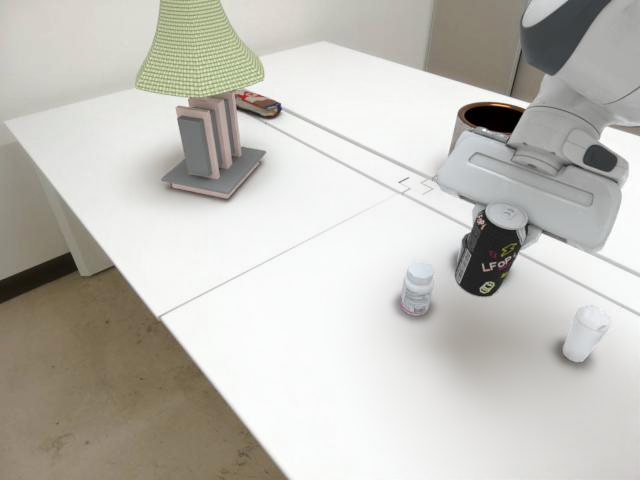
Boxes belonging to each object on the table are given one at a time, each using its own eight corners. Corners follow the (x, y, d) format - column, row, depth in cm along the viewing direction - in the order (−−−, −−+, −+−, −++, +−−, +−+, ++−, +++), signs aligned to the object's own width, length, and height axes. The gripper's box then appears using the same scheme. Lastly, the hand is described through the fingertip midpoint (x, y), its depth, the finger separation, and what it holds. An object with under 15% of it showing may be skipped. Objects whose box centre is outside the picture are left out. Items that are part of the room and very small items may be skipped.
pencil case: (251, 96, 147) (250, 80, 144) (287, 115, 136) (286, 99, 133) (221, 104, 142) (219, 88, 139) (256, 125, 130) (254, 109, 127)
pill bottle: (406, 291, 79) (412, 255, 74) (432, 302, 77) (441, 265, 72) (395, 309, 76) (401, 272, 71) (422, 320, 74) (430, 283, 69)
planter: (429, 171, 111) (440, 109, 101) (484, 155, 117) (499, 95, 107) (480, 208, 99) (498, 142, 89) (538, 188, 105) (561, 124, 95)
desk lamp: (247, 216, 96) (222, 7, 71) (134, 192, 103) (75, -6, 78) (292, 159, 115) (285, -21, 90) (194, 142, 122) (162, -30, 97)
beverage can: (506, 285, 59) (543, 215, 50) (483, 309, 56) (517, 239, 47) (468, 260, 62) (497, 190, 53) (444, 282, 58) (470, 211, 50)
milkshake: (561, 367, 67) (586, 322, 61) (555, 339, 71) (578, 294, 65) (594, 373, 66) (623, 328, 60) (586, 344, 70) (613, 299, 64)
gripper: (462, 111, 56) (408, 209, 57) (646, 169, 46) (577, 289, 46) (472, 132, 62) (422, 222, 62) (638, 188, 51) (576, 296, 52)
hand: (489, 251), depth 54 cm, fingers closed on beverage can, 3 cm apart
